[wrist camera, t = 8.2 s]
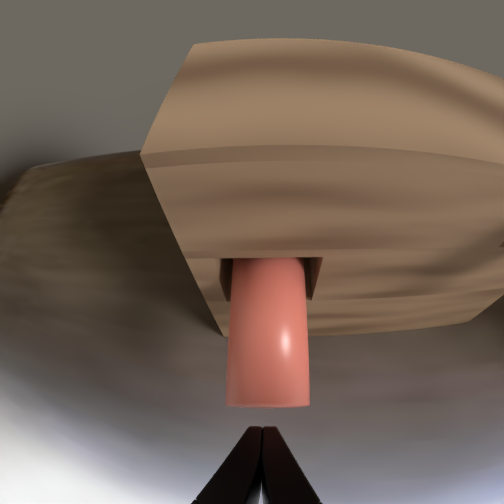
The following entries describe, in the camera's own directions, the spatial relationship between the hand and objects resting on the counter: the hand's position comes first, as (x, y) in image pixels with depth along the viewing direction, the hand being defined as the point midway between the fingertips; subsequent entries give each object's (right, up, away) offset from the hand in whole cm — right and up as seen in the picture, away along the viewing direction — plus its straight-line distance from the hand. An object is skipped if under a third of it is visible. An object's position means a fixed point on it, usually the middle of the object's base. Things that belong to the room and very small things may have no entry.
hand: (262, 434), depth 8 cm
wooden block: (+7, +4, +13) cm, 15 cm away
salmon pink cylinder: (0, +2, +5) cm, 5 cm away
